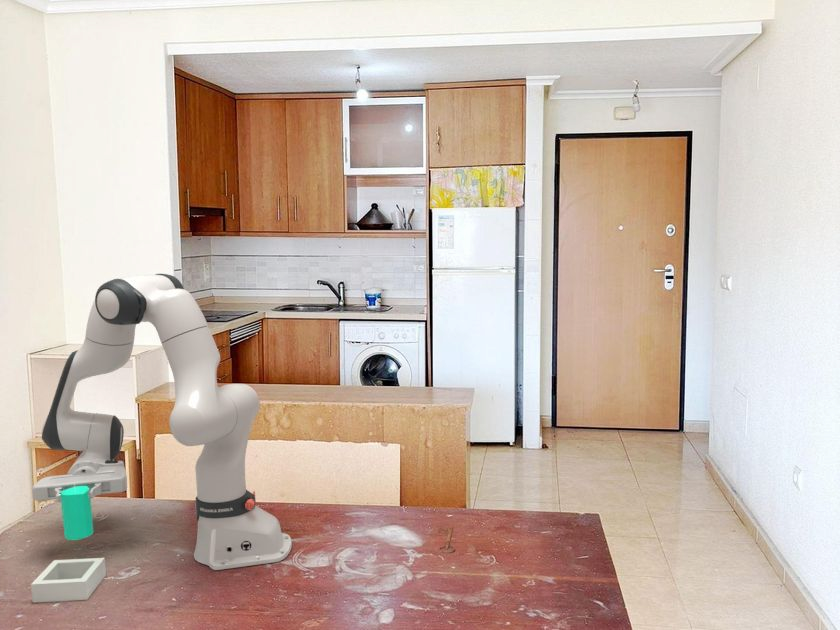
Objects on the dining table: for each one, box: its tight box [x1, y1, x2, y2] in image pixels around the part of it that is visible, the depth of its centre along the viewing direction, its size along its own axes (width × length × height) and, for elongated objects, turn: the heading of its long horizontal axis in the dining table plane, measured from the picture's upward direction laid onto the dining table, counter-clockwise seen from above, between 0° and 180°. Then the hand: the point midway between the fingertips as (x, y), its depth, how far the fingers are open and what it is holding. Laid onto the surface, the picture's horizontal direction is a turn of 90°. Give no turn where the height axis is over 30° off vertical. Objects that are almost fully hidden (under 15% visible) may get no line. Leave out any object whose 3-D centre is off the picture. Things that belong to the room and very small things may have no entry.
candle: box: [60, 484, 94, 541], centre depth 168 cm, size 6×6×12 cm
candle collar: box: [30, 557, 107, 603], centre depth 158 cm, size 11×11×4 cm
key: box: [437, 524, 456, 554], centre depth 178 cm, size 6×1×15 cm
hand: (74, 496), depth 166 cm, fingers closed on candle, 5 cm apart
